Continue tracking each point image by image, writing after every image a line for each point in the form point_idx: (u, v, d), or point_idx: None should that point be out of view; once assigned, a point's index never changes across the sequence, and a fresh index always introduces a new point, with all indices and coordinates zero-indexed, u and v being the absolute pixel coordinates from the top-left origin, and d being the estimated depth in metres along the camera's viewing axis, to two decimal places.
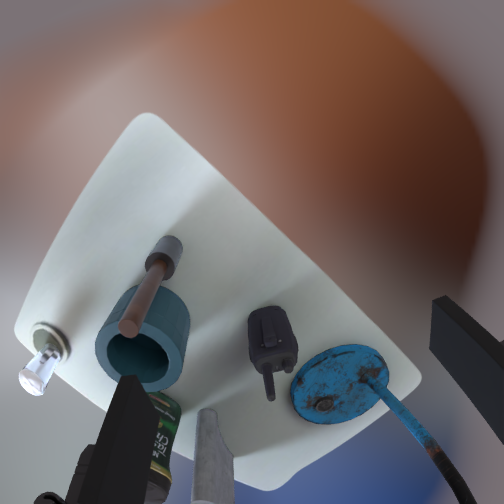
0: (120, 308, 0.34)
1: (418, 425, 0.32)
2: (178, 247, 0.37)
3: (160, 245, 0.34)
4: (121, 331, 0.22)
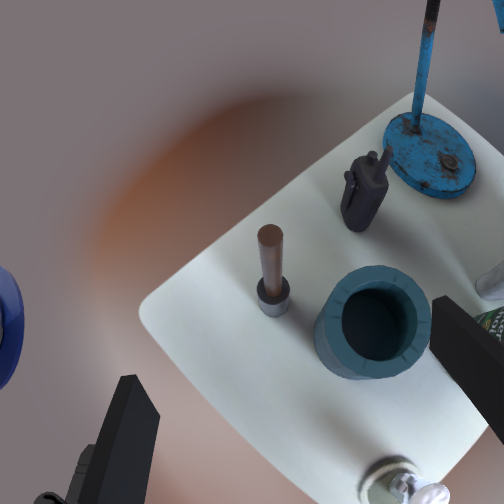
0: (323, 345, 0.29)
1: (420, 51, 0.32)
2: None
3: None
4: (273, 244, 0.20)
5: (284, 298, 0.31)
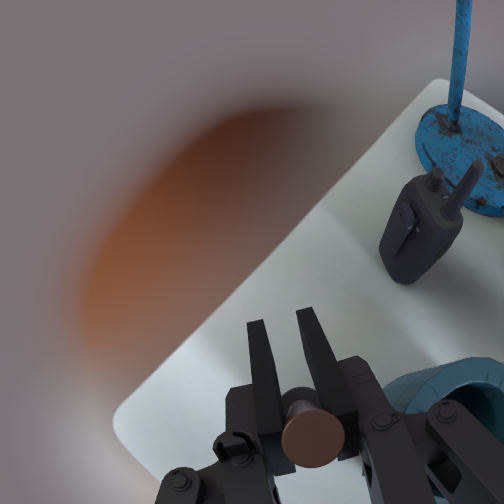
0: None
1: (457, 19, 0.20)
2: None
3: None
4: (324, 459, 0.07)
5: None
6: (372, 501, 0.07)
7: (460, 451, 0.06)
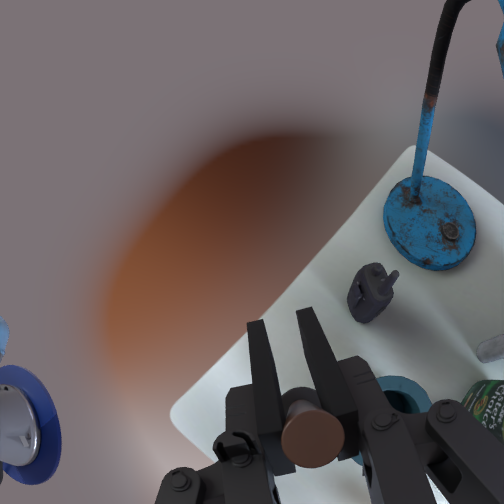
0: None
1: (420, 126, 0.34)
2: None
3: None
4: (323, 459, 0.07)
5: None
6: (372, 501, 0.07)
7: (460, 451, 0.06)
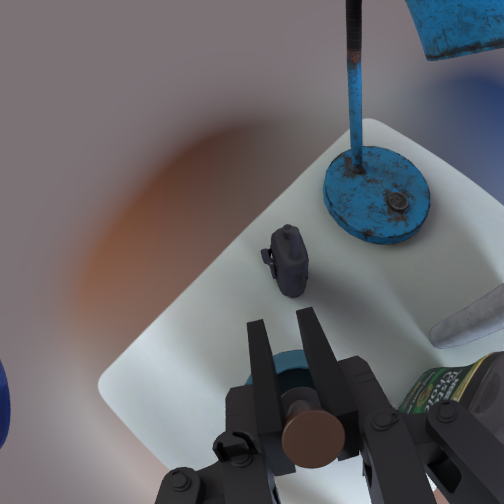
0: None
1: (348, 85, 0.33)
2: None
3: None
4: (324, 459, 0.07)
5: None
6: (372, 501, 0.07)
7: (460, 451, 0.06)
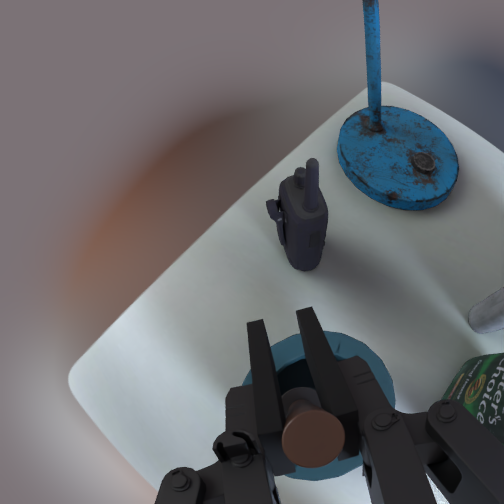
0: None
1: (365, 26, 0.26)
2: None
3: None
4: (324, 459, 0.07)
5: None
6: (372, 501, 0.07)
7: (460, 451, 0.06)
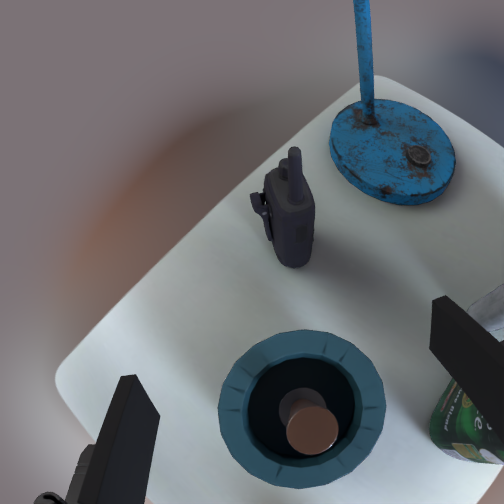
0: None
1: (355, 16, 0.25)
2: None
3: None
4: (321, 447, 0.08)
5: None
6: None
7: None
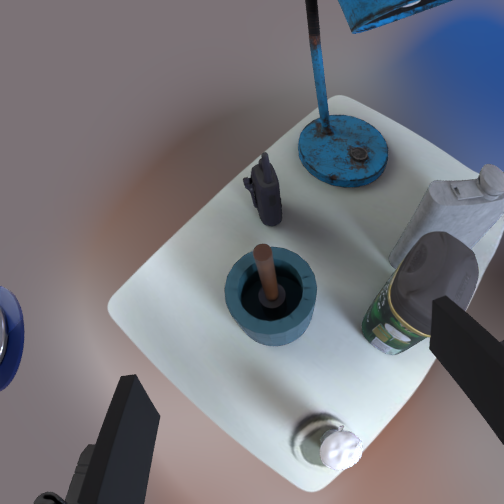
0: None
1: None
2: None
3: None
4: (265, 258, 0.27)
5: (282, 301, 0.37)
6: None
7: None
